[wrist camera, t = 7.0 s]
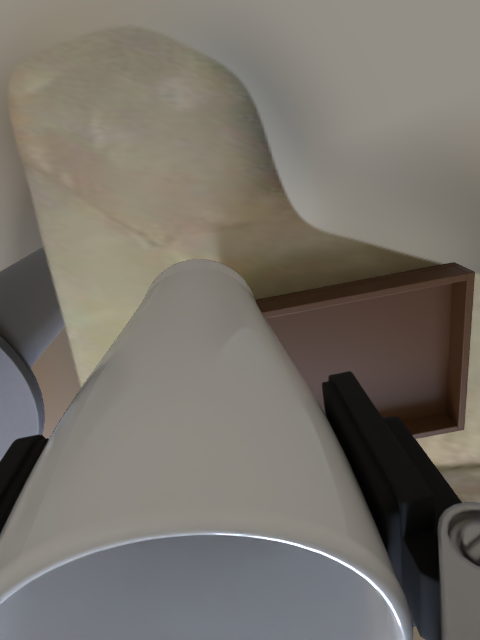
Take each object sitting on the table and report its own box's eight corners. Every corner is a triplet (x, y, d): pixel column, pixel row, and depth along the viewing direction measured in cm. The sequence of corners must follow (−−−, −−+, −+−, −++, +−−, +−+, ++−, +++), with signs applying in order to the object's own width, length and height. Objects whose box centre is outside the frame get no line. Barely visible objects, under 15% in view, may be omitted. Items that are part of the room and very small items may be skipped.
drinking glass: (134, 229, 18) (-107, 497, 4) (281, 251, 19) (501, 529, 5) (125, 361, 20) (-41, 808, 6) (255, 375, 21) (352, 789, 7)
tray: (254, 447, 39) (257, 468, 36) (224, 305, 33) (225, 319, 30) (447, 411, 38) (464, 429, 36) (454, 261, 32) (475, 271, 30)
